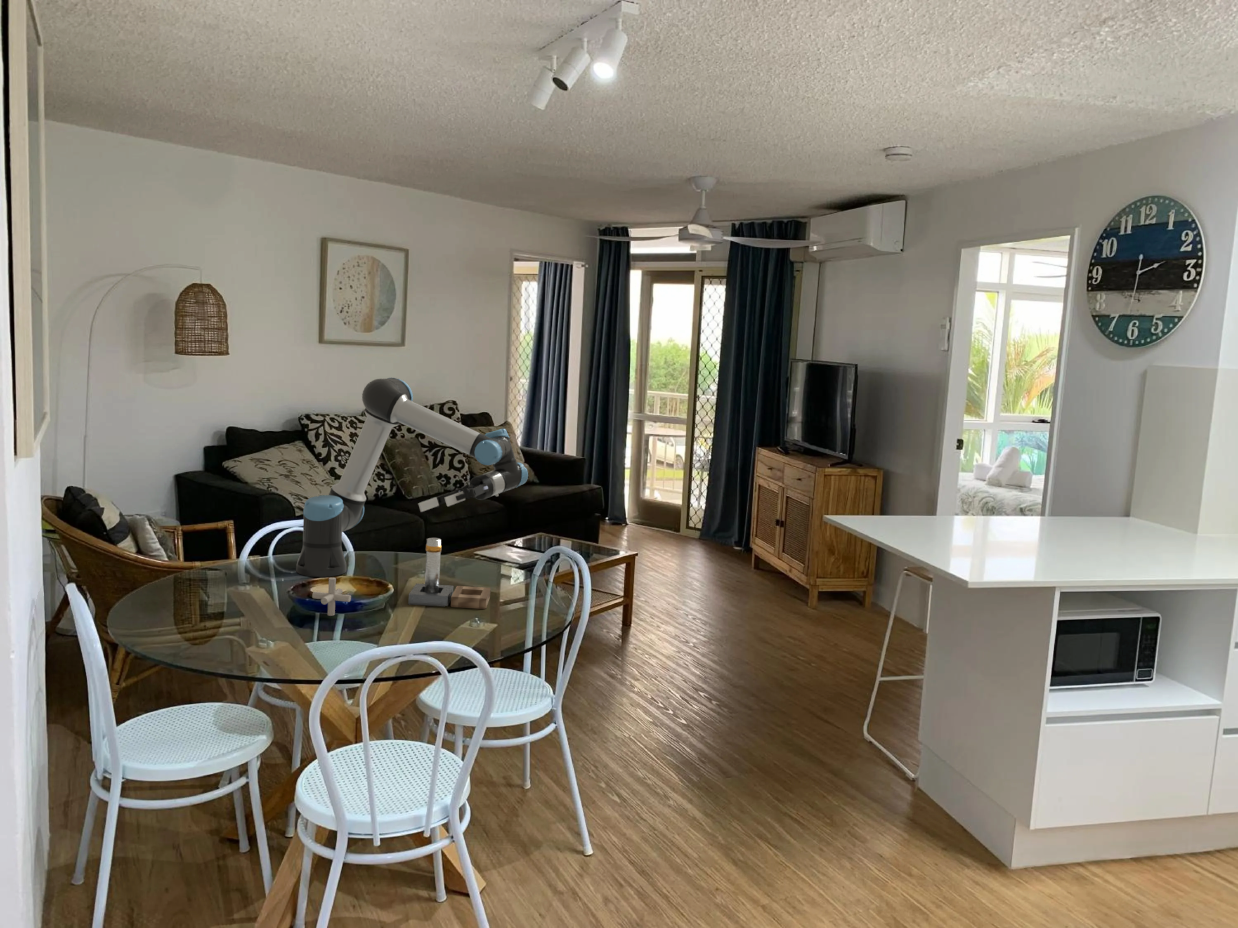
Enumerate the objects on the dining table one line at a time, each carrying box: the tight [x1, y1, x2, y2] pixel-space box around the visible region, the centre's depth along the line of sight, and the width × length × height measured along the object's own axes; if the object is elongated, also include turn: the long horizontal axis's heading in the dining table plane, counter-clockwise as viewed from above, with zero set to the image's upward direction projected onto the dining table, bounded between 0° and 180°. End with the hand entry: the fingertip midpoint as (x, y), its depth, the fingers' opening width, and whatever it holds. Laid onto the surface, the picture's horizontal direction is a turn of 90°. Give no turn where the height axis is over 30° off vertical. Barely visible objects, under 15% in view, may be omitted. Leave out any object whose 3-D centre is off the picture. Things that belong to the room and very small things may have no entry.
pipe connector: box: [312, 577, 352, 617], centre depth 245 cm, size 10×10×10 cm
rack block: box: [450, 585, 492, 610], centre depth 267 cm, size 10×12×3 cm
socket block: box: [407, 583, 454, 607], centre depth 266 cm, size 11×12×3 cm
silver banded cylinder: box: [424, 537, 442, 593], centre depth 265 cm, size 4×4×18 cm
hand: (432, 504), depth 271 cm, fingers open, 13 cm apart
